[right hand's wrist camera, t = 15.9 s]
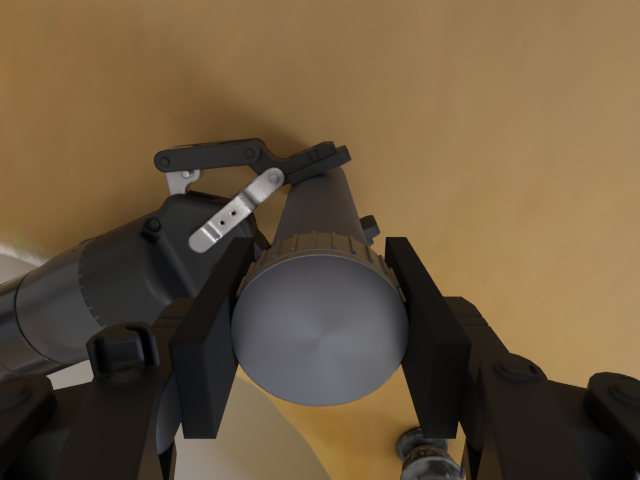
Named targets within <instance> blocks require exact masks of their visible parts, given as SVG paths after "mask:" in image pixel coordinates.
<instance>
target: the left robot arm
mask: <svg viewBox="0 0 640 480" xmlns="http://www.w3.org/2000/svg"><path fill="white" fill-rule="evenodd" d="M350 160H351V157H350V154H349V152H348V149H347V147H346V145H344V146H341V147H338V148H335V145H334V143H333V141H329V142H322V143H320V144H317V145H315V146H313V147H311V148H309V149H306V150H304V151H302V152H299V153H297V154H295V155H293V156H291V157H288V158H283V159H282V158H278V157H276V156H275V155H274V154H273V153H272V152H271V151H270V150H269V149H268V148H267V147H266V144H265V143H264V141H263V140H261V139H259V138H250V139H240V140H230V141H220V142H210V143H201V144H191V145H181V146H175V147H172V148H169V149H166V150H163V151H160V152H158V153H157V154H156V155H155V157H154V164H155V166H156V168H157V169H158V170H160V171H161V172H164V173H165V176H166V180H167V184H168V188H169V192H170V197H168V198H167V199H166V200H165V201H164V203H163V205H162V206H161V208H160V209H158V210H156V211H154V212H152V213H150V214H147V215H145V216H143V217H141V218H139V219H136V220H134V221H132V222H130V223H127V224H125V225H123V226H121V227H118V228H116V229H114V230H112V231H109V232H107V233H105V234H103V235H100V236H98V237H94V238H91V239H88V240H85V241H83V242H81V243H80V244H79V245H78V246H76V247H74V248H71V249H69V250H67V251H65V252H63V253H61V254H59V255H58V256H56V257H54V258H53V259H51V260H50V261H48V262H47V263H45V264H44V265H42V266H40V267H38V268H36V269H35V270H32V271H30V272H28V273H26V274H23V275H21V276H19V277H17V278H14V279H12V280H10V281H8V282H5V283H3V284H0V383H1V382H3V381H4V380H7V379H10V378H14V377H17V376H20V375H28V374H40V375H45V376H46V375H49V374H52V373H54V372H57V371H60V370H62V369H65V368H67V367H70V366H72V365H75V364H77V363H80V362H82V361H85V360H89V356H88V352H87V348H86V345H85V344H86V343H87V341H88V340H89V339H90V338H91V337H92V336H93V335H95V334H96V333H98V332H99V331H101V330H103V329H105V328H108V327H110V326H113V325H116V324H120V323H125V322H143V323H148V324H149V325H151V326H152V324H153V323H154V322H155V320H156V319H158V316H159V315H160V313H161V312H162V311H163V309H164V308H165V307H166V306H167V305H169V304H170V303H172V302H173V301H175V300H176V299H178V298H196V297H197V296H198V294H199V292H200V291H201V289H202V288H203V286H204V284H205V283H206V281H207V279H208V278H209V276H210V275H211V273H212V271H213V270H214V268H215V267H216V265H217V263H218V262H219V260H220V258H221V257H222V255H223V254H224V252H225V250H226V249H227V247H228V246H229V244H230V242H231V241H232V239H233V238H234V237H254V248H255V262H256V261H257V260H258V259H259V258H260V256H261V254H262V251H263V250H266V251H267V250H269V249H270V248H271V247H272V244H273V243H268V241H267V239H266V237H265V236H264V235H263V234H262V233H261V232H260V231H259V230H258V228H257V224H256V219H255V216H254V214H253V212H252V211H254V210H255V209H256V208H257V207H258V206H259V205H260V204H261V203H262V202H263V201H264V200H265V199H267V198H268V197H269V196H270V195H271V194H273V193H274V192H275V191H276V190H277V189H279V188H280V187H281V186H283V185H286V184H288V183H290V184H291V186H294V185H297V184H299V183H301V182H303V181H305V180H308V179H310V178H313V177H315V176H317V175H320V174H322V173H324V172H327V171H329V170H331V169H333V168H336V167H338V166H340V165H343V164H345V163H347V162H349V161H350ZM240 165H249V166H250V167H251V168H252V169H253V170H254V171H255V172H256V173H257V174H258V176H256V177H255V178H254V179H253V180H252V181H250V182H249V183H248V184H247V185H245V186H244V187H243V188H242V189H241V190H240V191H238V192H237V193H236V194H235V195H234V196H233V197H232V198H230V199H229V198H225V197H220V196H215V195H211V194H206V193H201V192H196V191H192V190H190V184H191V183H192V182H195V181H197V180H198V179H200V178H201V177H202V176H203V175H204V171H205V170H204V169H210V168H220V167H230V166H240ZM359 220H360V223H361V226H362V229H363V232H364V235H365V238H366V241H367V244H368V245H369V246H371V245H372V244H373V243H374V242H373V239H372V238H373V237H375V236H377V235H378V234H379V233H380V230H379V228H378V225H377V223H376V221H375V218H374V216H373V215H369V216H366V217H363V218H361V219H359Z"/></svg>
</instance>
